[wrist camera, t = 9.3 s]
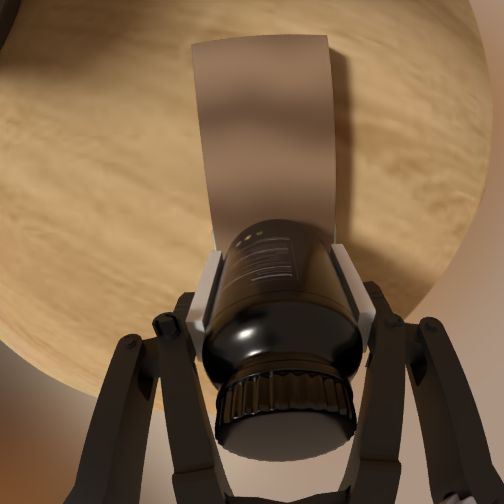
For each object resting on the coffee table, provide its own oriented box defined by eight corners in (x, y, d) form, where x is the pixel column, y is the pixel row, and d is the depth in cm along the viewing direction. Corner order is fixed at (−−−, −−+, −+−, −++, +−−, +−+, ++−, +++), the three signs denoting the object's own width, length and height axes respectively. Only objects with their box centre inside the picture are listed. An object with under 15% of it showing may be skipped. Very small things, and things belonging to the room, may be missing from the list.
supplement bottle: (344, 278, 19) (399, 439, 8) (259, 318, 20) (253, 476, 10) (298, 193, 16) (356, 356, 5) (203, 247, 18) (140, 417, 7)
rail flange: (195, 51, 14) (165, 26, 9) (323, 43, 14) (349, 14, 8) (231, 321, 25) (223, 375, 19) (324, 316, 24) (337, 370, 19)
